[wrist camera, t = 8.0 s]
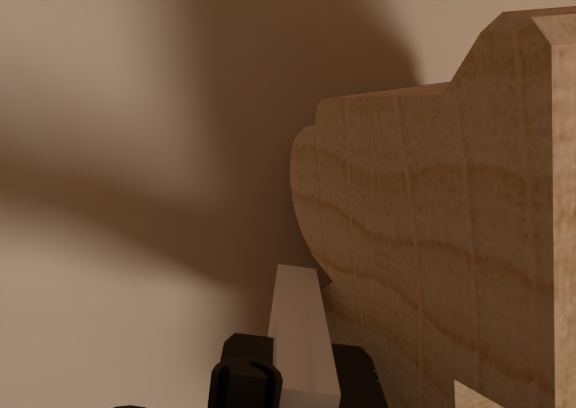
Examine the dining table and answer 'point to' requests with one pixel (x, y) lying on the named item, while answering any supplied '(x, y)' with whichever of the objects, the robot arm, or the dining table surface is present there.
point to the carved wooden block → (454, 222)
